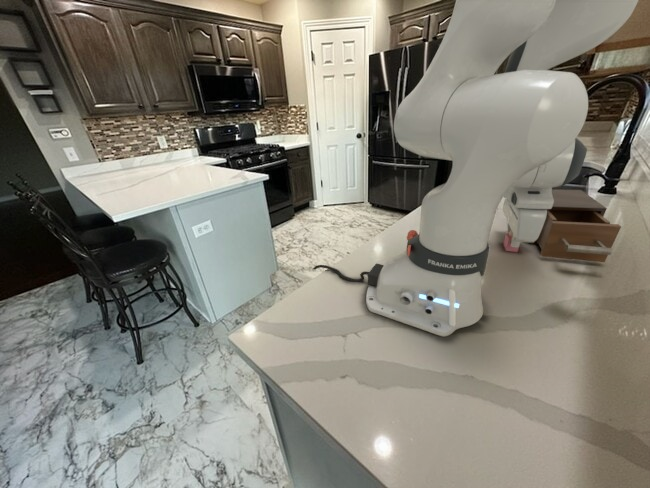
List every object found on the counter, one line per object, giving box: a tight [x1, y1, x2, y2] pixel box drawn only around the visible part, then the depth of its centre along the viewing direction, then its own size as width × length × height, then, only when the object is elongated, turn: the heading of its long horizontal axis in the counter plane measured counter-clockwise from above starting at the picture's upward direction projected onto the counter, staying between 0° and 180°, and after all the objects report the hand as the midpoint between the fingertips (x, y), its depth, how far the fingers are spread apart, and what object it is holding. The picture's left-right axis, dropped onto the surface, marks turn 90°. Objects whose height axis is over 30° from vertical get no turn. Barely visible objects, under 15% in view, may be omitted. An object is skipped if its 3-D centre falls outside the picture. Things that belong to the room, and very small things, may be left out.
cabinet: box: [527, 189, 607, 245], centre depth 71 cm, size 15×13×11 cm
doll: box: [503, 230, 520, 253], centre depth 67 cm, size 3×4×6 cm
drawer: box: [536, 209, 622, 263], centre depth 61 cm, size 18×11×9 cm, turn 157°
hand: (512, 241), depth 68 cm, fingers closed on doll, 3 cm apart
